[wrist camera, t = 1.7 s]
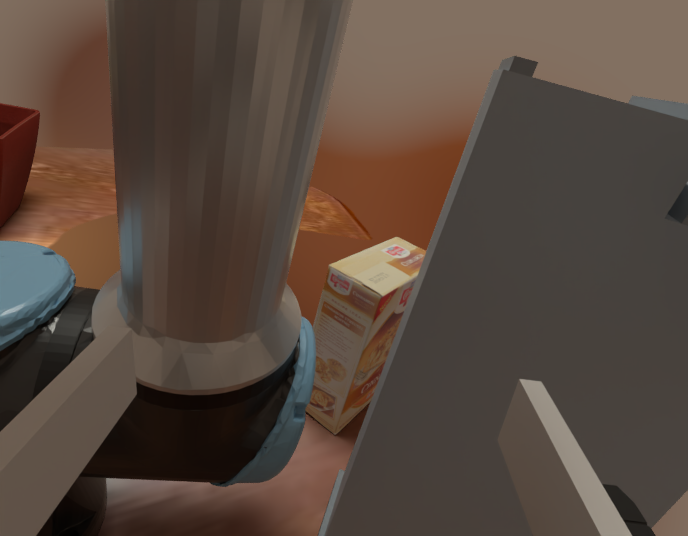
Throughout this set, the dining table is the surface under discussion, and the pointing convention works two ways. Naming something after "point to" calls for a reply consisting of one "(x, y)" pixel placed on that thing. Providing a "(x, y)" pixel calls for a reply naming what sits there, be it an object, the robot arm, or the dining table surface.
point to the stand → (536, 316)
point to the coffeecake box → (359, 327)
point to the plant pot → (15, 155)
